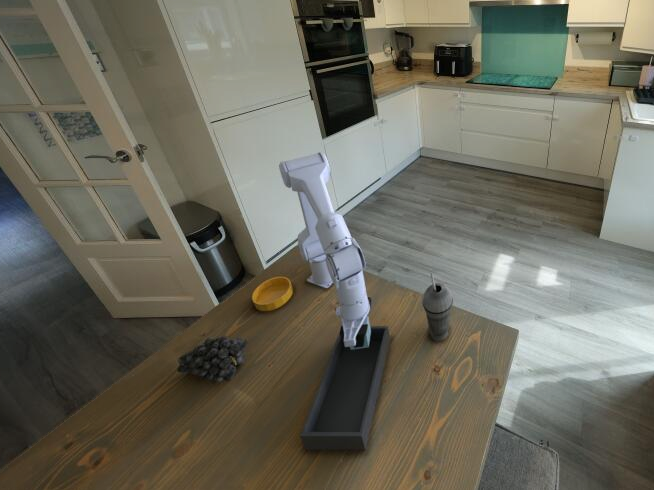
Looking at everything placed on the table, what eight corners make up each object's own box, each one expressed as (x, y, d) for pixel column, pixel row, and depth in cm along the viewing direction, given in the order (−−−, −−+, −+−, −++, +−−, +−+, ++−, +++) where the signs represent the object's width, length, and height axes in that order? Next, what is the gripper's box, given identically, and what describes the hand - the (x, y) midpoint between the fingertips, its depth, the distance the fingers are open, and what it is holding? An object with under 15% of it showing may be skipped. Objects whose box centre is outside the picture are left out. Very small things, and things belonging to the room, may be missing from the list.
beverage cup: (449, 349, 75) (448, 289, 67) (420, 343, 76) (415, 284, 68) (456, 322, 81) (455, 264, 73) (429, 317, 83) (426, 260, 74)
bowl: (276, 280, 93) (274, 273, 92) (300, 289, 90) (298, 282, 89) (247, 305, 85) (243, 298, 84) (272, 316, 82) (269, 309, 81)
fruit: (157, 350, 65) (225, 354, 64) (194, 324, 73) (254, 327, 72) (161, 388, 66) (228, 392, 65) (197, 358, 74) (257, 361, 73)
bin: (345, 339, 77) (341, 325, 75) (390, 339, 77) (388, 326, 75) (305, 450, 58) (299, 436, 56) (365, 450, 58) (361, 436, 56)
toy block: (353, 333, 74) (350, 317, 72) (371, 330, 74) (368, 315, 72) (350, 349, 70) (346, 333, 68) (368, 347, 71) (365, 331, 68)
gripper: (339, 270, 72) (348, 310, 78) (323, 328, 59) (335, 371, 65) (371, 267, 73) (377, 307, 79) (361, 323, 60) (370, 366, 66)
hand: (360, 336), depth 72 cm, fingers closed on toy block, 4 cm apart
